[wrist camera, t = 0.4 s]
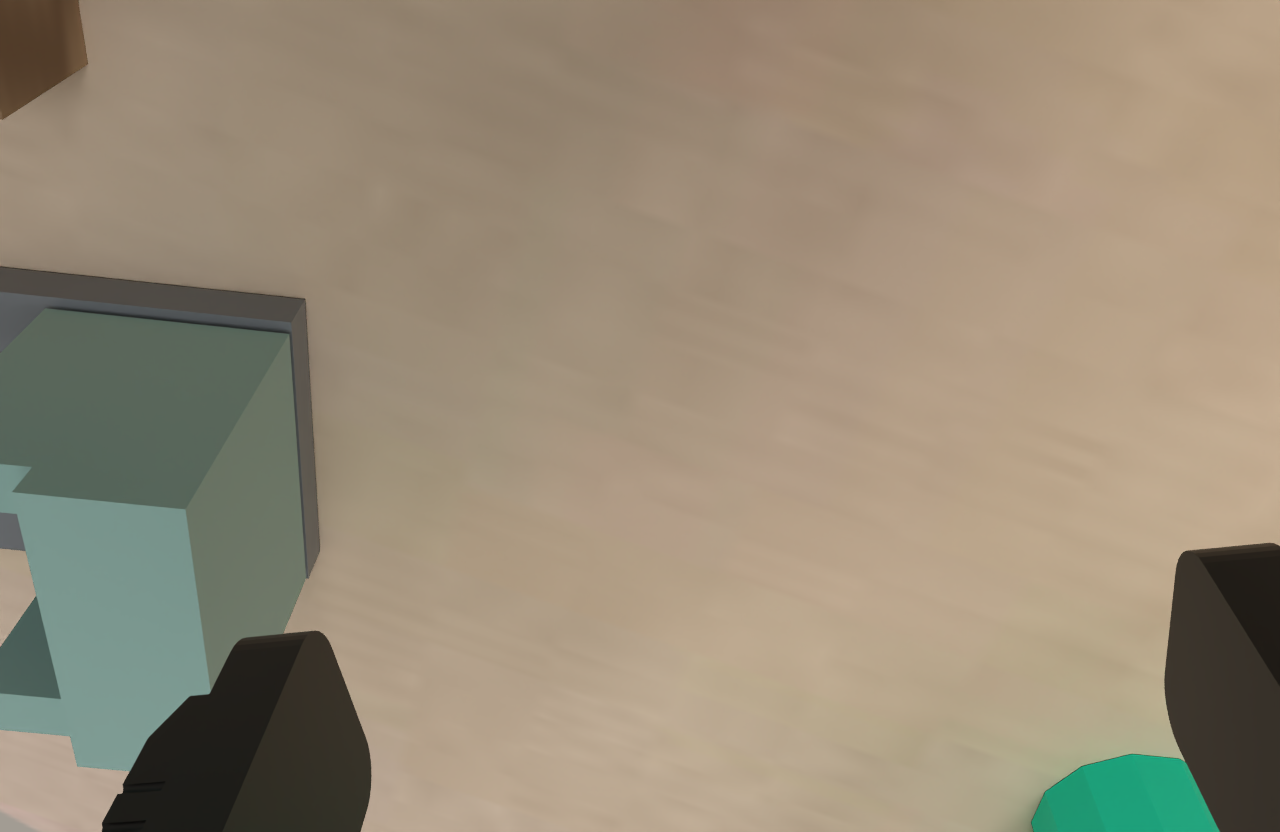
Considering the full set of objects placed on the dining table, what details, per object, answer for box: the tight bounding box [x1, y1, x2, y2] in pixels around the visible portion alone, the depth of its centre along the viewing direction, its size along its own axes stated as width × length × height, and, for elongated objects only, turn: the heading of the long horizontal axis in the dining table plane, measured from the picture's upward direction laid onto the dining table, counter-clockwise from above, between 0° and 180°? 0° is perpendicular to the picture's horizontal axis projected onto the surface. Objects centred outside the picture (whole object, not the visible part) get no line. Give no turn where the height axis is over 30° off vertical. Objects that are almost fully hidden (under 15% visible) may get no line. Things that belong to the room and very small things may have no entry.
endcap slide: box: [0, 308, 306, 771], centre depth 26 cm, size 8×6×7 cm
